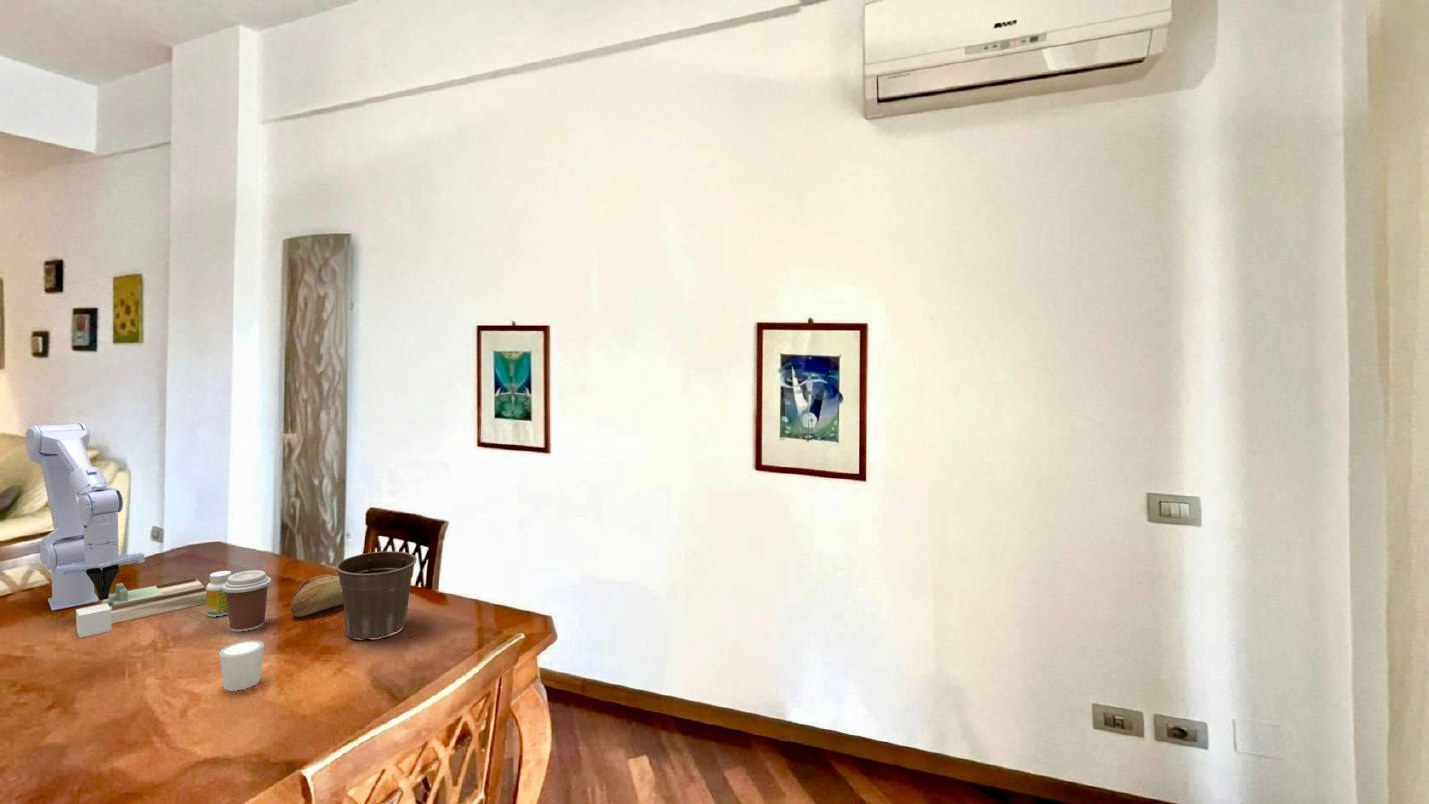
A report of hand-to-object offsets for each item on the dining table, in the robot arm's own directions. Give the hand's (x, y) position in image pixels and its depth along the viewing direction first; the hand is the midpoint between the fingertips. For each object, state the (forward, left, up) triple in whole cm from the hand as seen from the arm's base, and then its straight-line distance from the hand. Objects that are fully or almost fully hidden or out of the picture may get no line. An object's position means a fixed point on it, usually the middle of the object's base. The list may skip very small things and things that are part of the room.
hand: (103, 598), depth 146 cm
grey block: (+9, -3, -4) cm, 11 cm away
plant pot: (+53, +39, -4) cm, 66 cm away
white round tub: (+59, +12, -4) cm, 60 cm away
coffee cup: (+30, +20, -4) cm, 37 cm away
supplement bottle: (+17, +18, -4) cm, 25 cm away
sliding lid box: (0, +9, -4) cm, 10 cm away
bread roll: (+31, +35, -4) cm, 47 cm away
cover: (0, +6, -1) cm, 6 cm away
